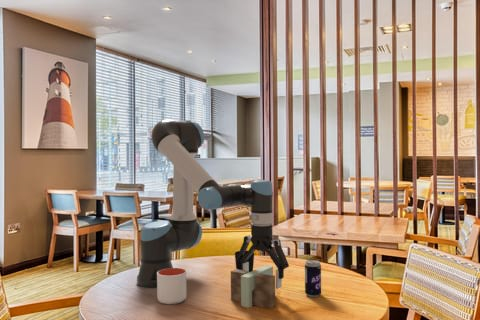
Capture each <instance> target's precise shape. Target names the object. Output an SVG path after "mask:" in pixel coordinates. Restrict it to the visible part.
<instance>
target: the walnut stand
mask: <svg viewBox="0 0 480 320" xmlns="http://www.w3.org/2000/svg"><path fill="white" fill-rule="evenodd" d="M247 273H249V271H244V270H239V269H236V268H234V269H232V270H231V271H230V300H231V301H235V302H240V303H241V276H242V275H245V274H247ZM253 305H254V306H257V307H261V308H266V309H269V310H270V309H273V308H274V307H276V275H273V276H272V275H266V274H259V275H257V276H256V289H255V290H253V291H252V306H253Z"/></svg>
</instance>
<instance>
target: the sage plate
mask: <svg viewBox="0 0 480 320" xmlns="http://www.w3.org/2000/svg"><path fill="white" fill-rule="evenodd" d="M259 274H266V275H272V276H274V266H273V265H269V264H268V265H267V264H265V265H263V266H261V267H259V268H256V269H255V270H254V269H253V271H251V272H249V273H247V274H245V275H242V276H241V302H240V306H241V307H244V308H251V307H253V305H252V291H253V290H255V289H256V276H257V275H259Z"/></svg>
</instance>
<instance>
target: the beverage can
mask: <svg viewBox="0 0 480 320" xmlns="http://www.w3.org/2000/svg"><path fill="white" fill-rule="evenodd" d="M304 293H305V295H306V296H308V297H310V298H318V297H320V295H321V294H322V265H321V261H319V260H316V259H308V260H305V263H304Z"/></svg>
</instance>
